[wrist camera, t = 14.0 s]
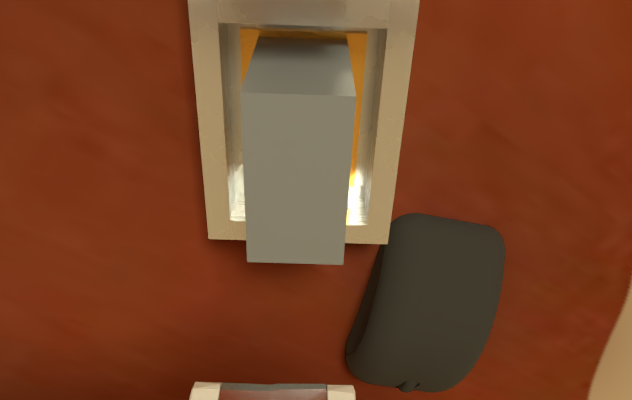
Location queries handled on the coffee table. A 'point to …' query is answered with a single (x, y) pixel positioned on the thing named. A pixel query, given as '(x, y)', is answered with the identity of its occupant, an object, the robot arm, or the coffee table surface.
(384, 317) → the computer mouse
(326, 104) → the grey block
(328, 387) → the robot arm
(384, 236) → the tray
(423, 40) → the coffee table surface
